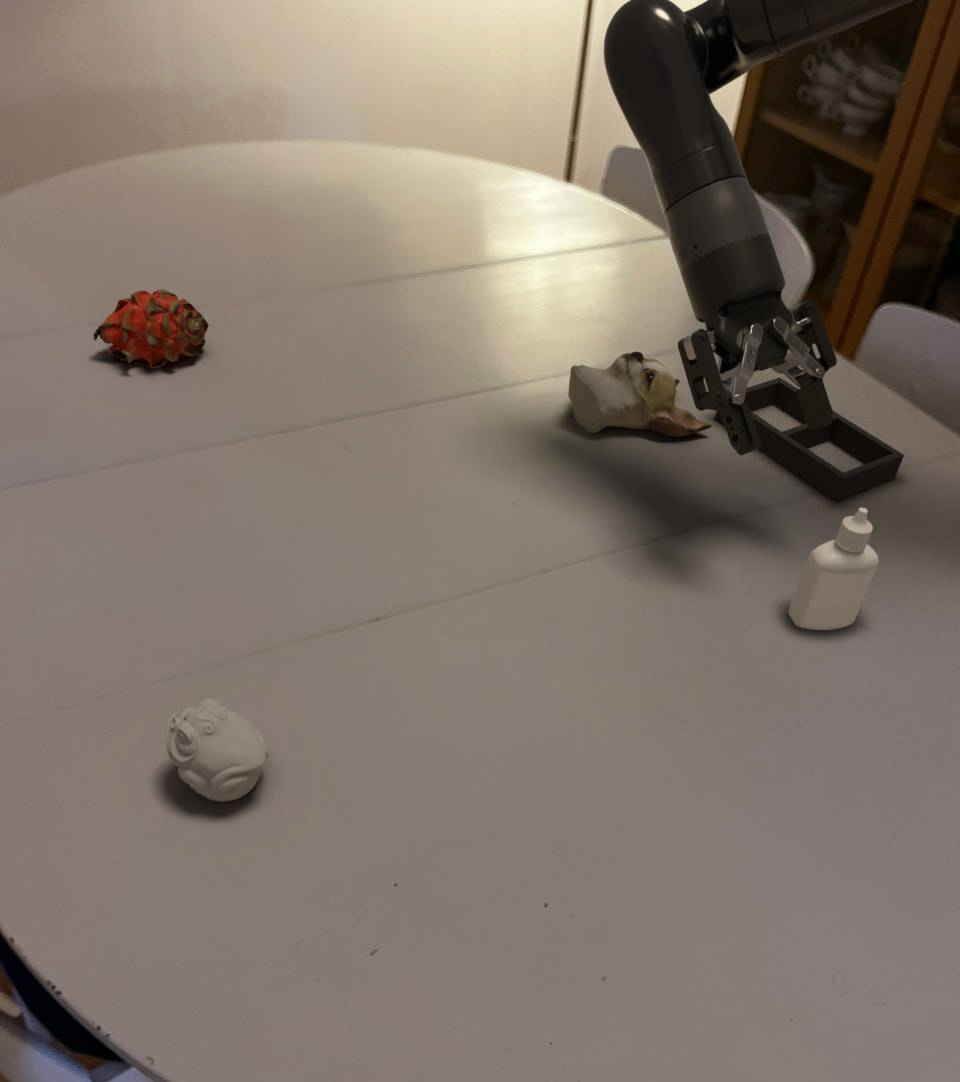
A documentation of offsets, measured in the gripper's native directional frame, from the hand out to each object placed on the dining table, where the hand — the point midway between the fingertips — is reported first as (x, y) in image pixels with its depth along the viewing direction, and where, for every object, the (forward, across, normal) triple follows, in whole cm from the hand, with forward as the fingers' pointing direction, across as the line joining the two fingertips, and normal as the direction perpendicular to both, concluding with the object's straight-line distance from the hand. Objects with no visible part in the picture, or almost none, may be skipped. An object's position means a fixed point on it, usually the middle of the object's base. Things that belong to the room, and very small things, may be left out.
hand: (787, 439), depth 87 cm
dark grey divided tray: (+2, +19, +17) cm, 26 cm away
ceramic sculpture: (-8, +6, +27) cm, 28 cm away
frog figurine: (+10, -51, +10) cm, 53 cm away
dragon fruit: (-32, -33, +50) cm, 68 cm away
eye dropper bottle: (+16, 0, +3) cm, 16 cm away
